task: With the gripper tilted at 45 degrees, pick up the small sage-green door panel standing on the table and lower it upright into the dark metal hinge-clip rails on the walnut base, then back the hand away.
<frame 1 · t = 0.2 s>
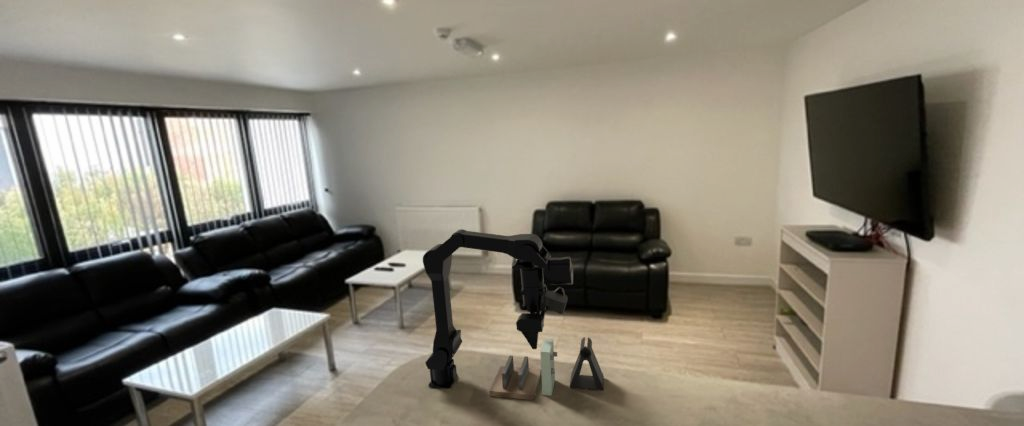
hand: (537, 340, 112), 15 cm above the table, tool pointing down, fingers open, 9 cm apart
door panel: (548, 387, 115), on the table
grey triangular stand: (586, 383, 116), on the table
hinge base: (516, 384, 117), on the table
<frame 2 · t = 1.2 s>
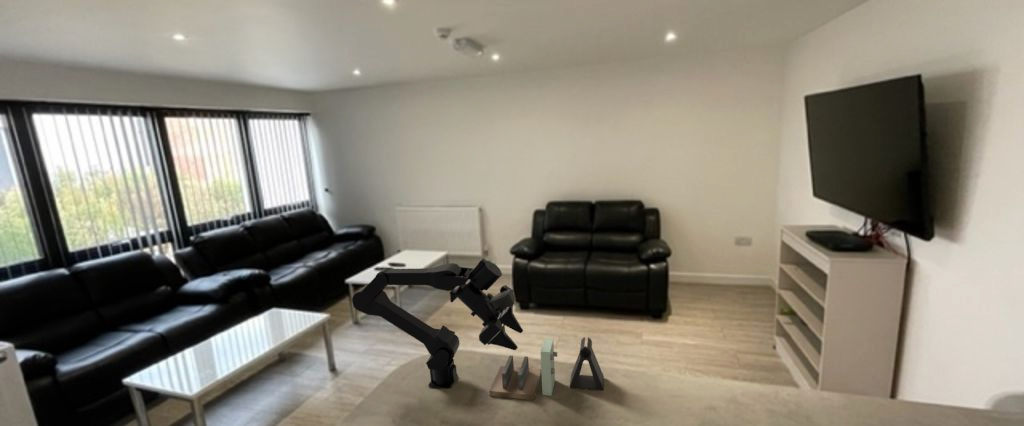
hand: (519, 340, 114), 13 cm above the table, tool tilted 45°, fingers open, 9 cm apart
nothing on the table moved.
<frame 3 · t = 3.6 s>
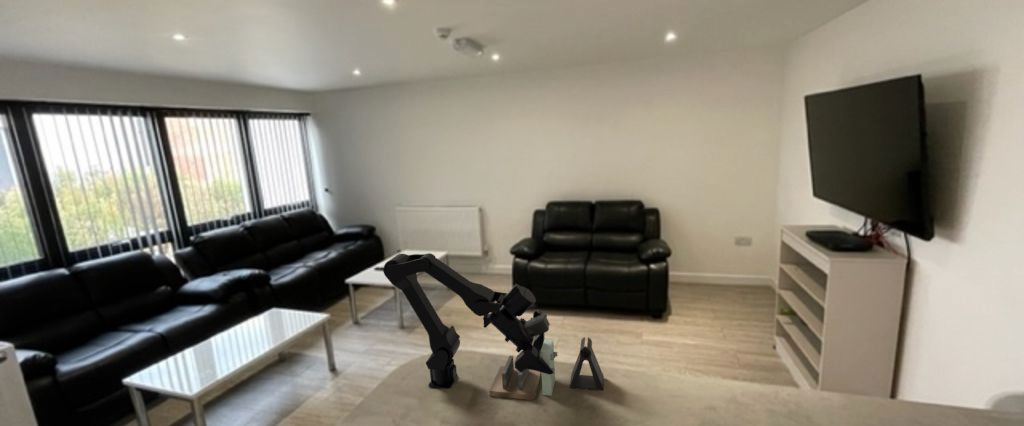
hand: (553, 365, 114), 7 cm above the table, tool tilted 45°, fingers closed on door panel, 7 cm apart
door panel: (548, 387, 115), on the table, touching gripper
everything else where it was.
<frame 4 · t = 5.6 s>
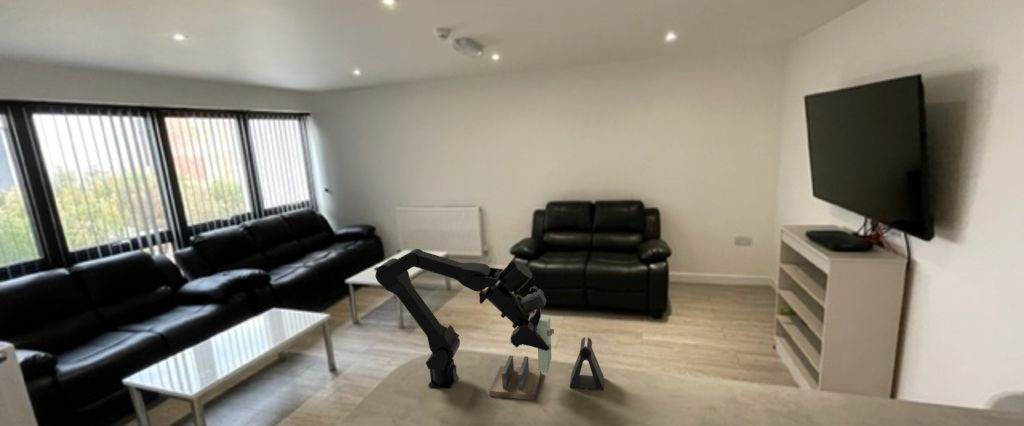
hand: (549, 342, 113), 13 cm above the table, tool tilted 45°, fingers closed on door panel, 7 cm apart
door panel: (545, 364, 114), point 7 cm above the table, touching gripper
everything else where it was.
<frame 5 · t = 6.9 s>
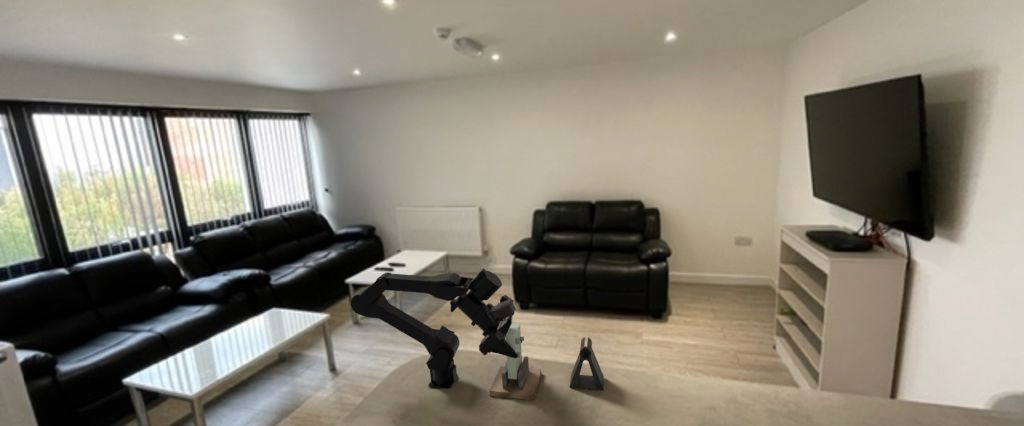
hand: (519, 349, 115), 11 cm above the table, tool tilted 45°, fingers closed on door panel, 7 cm apart
door panel: (515, 371, 117), point 4 cm above the table, touching gripper
everything else where it was.
when the fingers open (9 cm above the table, at t = 7.8 s): door panel stays where it is, resting on hinge base.
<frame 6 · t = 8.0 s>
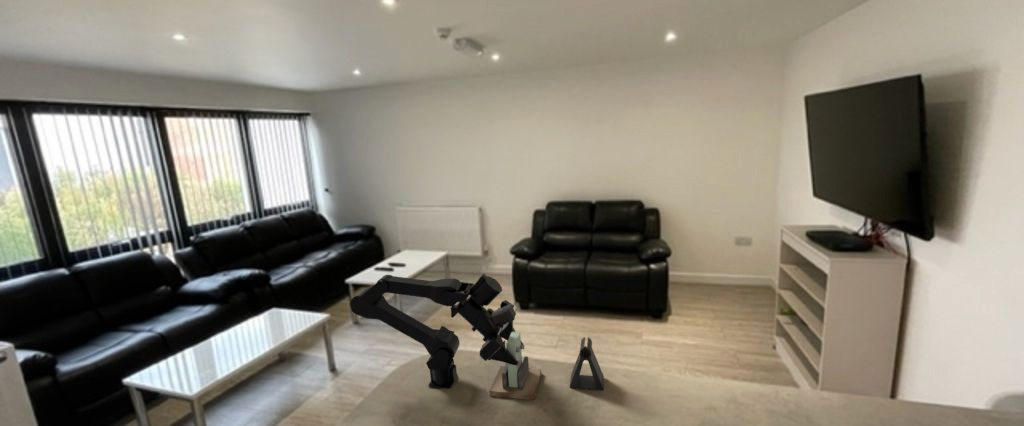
hand: (519, 354, 115), 9 cm above the table, tool tilted 45°, fingers open, 9 cm apart
door panel: (516, 379, 117), point 1 cm above the table, touching hinge base
everything else where it was.
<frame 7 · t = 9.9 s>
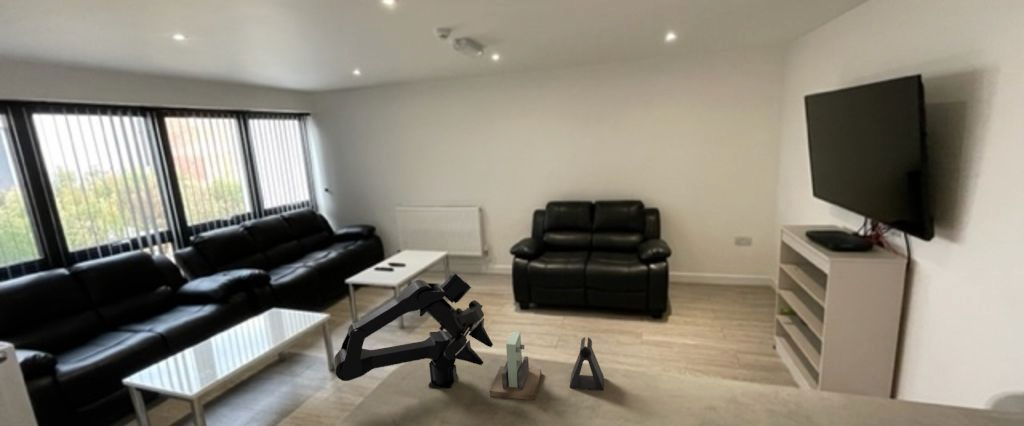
hand: (487, 354, 116), 9 cm above the table, tool tilted 45°, fingers open, 9 cm apart
nothing on the table moved.
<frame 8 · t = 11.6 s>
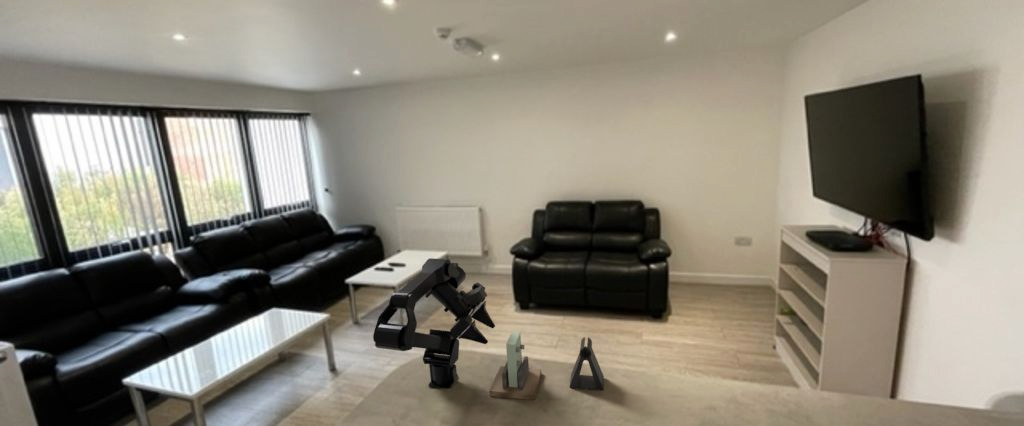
hand: (490, 334, 120), 13 cm above the table, tool tilted 45°, fingers open, 9 cm apart
nothing on the table moved.
at the end: door panel 0.1 cm off-centre on the hinge base, point 1.5 cm above the hinge base's base; door panel tilted 0°; the gripper is holding nothing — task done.
